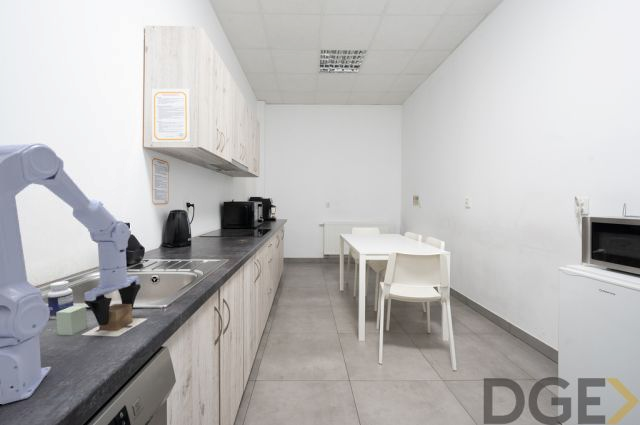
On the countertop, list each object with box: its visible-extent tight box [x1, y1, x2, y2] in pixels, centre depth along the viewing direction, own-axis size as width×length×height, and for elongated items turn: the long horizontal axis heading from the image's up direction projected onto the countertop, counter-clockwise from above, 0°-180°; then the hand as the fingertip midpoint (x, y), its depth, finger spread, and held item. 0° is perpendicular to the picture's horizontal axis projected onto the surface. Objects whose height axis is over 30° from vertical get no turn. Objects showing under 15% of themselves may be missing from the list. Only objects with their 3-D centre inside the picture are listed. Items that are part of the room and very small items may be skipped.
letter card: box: [81, 317, 148, 337], centre depth 73 cm, size 10×10×1 cm
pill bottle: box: [47, 280, 74, 320], centre depth 81 cm, size 5×5×10 cm
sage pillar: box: [56, 305, 88, 336], centre depth 71 cm, size 4×4×6 cm
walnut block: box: [98, 303, 133, 331], centre depth 73 cm, size 5×5×5 cm
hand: (116, 317), depth 73 cm, fingers open, 7 cm apart
